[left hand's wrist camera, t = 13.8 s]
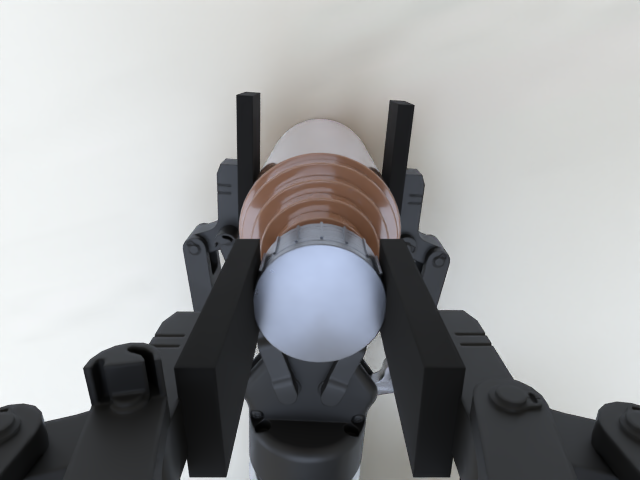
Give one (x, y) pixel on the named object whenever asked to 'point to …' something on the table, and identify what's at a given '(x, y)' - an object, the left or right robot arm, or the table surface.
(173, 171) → the table surface
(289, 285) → the cap
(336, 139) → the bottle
